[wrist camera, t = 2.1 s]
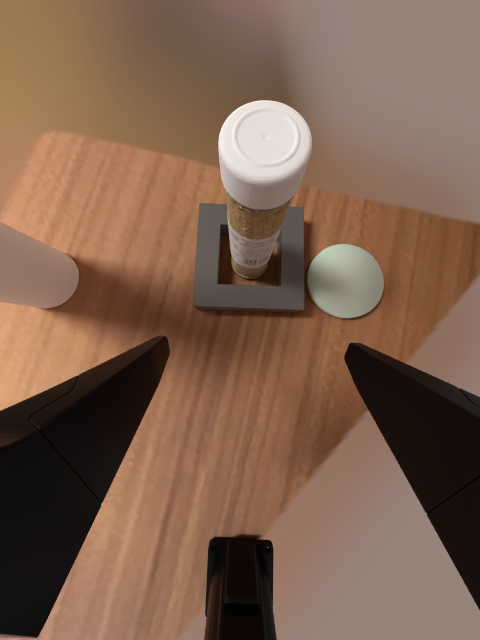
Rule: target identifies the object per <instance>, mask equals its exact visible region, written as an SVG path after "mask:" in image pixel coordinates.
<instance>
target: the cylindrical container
mask: <svg viewBox="0 0 480 640" xmlns="http://www.w3.org/2000/svg"><path fill="white" fill-rule="evenodd" d="M78 282H79V271H78V268H77V265H76V263H75V262H74V261H73V259H72V258H71V257H69V256H68V255H66V254H64V253H62V252H60V251H58V250H56V249H54V248H52V247H50V246H48V245H46V244H44V243H42V242H40V241H38V240H36V239H34V238H32V237H30V236H28V235H26V234H24V233H22V232H20V231H18V230H16V229H14V228H12V227H10V226H8V225H6V224H4V223H2V222H0V302H6V303H12V304H18V305H25V306H31V307H37V308H53V307H56V306H59V305H61V304H63V303H64V302H66V301H67V300H68V299H69V298H70V297H71V296H72V295H73V294H74V292H75V290H76V288H77V285H78Z"/></svg>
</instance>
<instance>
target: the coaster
mask: <svg viewBox="0 0 480 640" xmlns="http://www.w3.org/2000/svg"><path fill="white" fill-rule="evenodd" d="M306 285H307V290H308V293H309V295H310V297H311V299H312V300H313V302H314V303H315V304H316V306H317V307H318V308H320V309H321V310H322V311H323V312H325V313H327V314H329V315H331V316H334V317H337V318H354V317H359V316H362V315H364V314H366V313H368V312H369V311H371V310H372V309H373V308H374V307H375V306H376V305H377V304H378V302H379V301H380V299H381V296H382V293H383V289H384V278H383V274H382V271H381V268H380V266H379V264H378V263H377V261H376V260H375V259H374V258H373V257H372V256H371V255H370V254H369V253H368V252H366V251H365V250H363V249H361V248H359V247H357V246H353V245H348V244H339V245H334V246H330V247H328V248H326V249H324V250H323V251H321V252H320V253H319V254H318V255H317V256H316V257H315V258H314V259H313V261H312V262H311V264H310V266H309V268H308V271H307V276H306Z"/></svg>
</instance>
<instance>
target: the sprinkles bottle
mask: <svg viewBox="0 0 480 640" xmlns="http://www.w3.org/2000/svg"><path fill="white" fill-rule="evenodd" d="M311 151H312V137H311V133H310V130H309V127H308V125H307V123H306V122H305V120H304V119H303V117H302V116H301V115H300V114H299V113H298V112H297V111H295V110H294V109H292V108H291V107H289V106H287V105H285V104H283V103H279V102H275V101H268V100H262V101H255V102H251V103H248V104H245V105H243V106H241V107H239V108H238V109H236V110H235V111H234V112H233V113H232V114H231V115H230V116H229V117H228V118H227V120H226V121H225V123H224V124H223V126H222V129H221V132H220V135H219V160H220V169H221V178H222V182H223V184H224V188H225V191H226V197H227V208H228V210H227V218H228V228H229V238H230V250H231V254H232V259H231V264H232V268H233V270H234V271H235V273H236V274H238V275H239V276H240V277H242V278H245V279H255V278H257V277H259V276H261V275H262V274H263V273H264V272H265V271H266V269H267V267H268V261H269V259H270V256H271V254H272V251H273V249H274V246H275V244H276V241H277V238H278V236H279V233H280V231H281V227H282V224H283V221H284V218H285V215H286V213H287V210H288V207H289V204H290V200H291V199H292V198H293V196H294V194H295V193H296V192H297V190H298V188H299V186H300V184H301V181H302V179H303V176H304V173H305V170H306V168H307V165H308V162H309V159H310V156H311Z"/></svg>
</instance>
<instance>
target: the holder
mask: <svg viewBox="0 0 480 640" xmlns="http://www.w3.org/2000/svg"><path fill="white" fill-rule="evenodd" d="M227 210H228V208H227V204H207V203H200V204H199V220H198V235H197V250H196V265H195V281H194V296H193V306H194V307H195V308H196V309H209V310H237V311H265V312H294V313H298V312H301V311H303V310H304V207H288V210H287V213H286V215H285V218H284V221H283V224H282V227H281V231H280V233H279V236H278V274H277V286H256V285H228V284H220V264H221V244H222V235H229V228H228V218H227Z"/></svg>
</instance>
